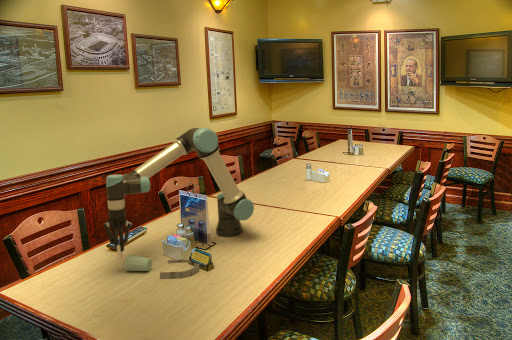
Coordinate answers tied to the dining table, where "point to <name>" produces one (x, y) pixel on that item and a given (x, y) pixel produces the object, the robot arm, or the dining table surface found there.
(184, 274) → the split ring
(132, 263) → the cup
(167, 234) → the dining table surface
